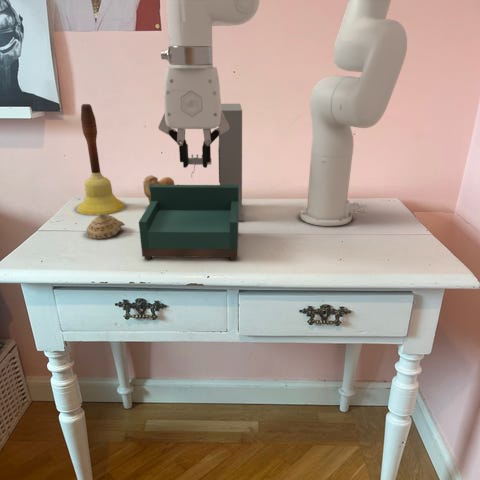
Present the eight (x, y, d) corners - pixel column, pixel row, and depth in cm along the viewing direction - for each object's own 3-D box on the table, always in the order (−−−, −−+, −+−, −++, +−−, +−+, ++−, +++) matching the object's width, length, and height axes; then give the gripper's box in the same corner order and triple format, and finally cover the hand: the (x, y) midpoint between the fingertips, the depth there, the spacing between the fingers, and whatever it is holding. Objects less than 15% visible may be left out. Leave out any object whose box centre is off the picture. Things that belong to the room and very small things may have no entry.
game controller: (208, 163, 99) (208, 150, 98) (221, 176, 89) (221, 162, 88) (181, 164, 98) (180, 151, 96) (191, 178, 88) (190, 163, 87)
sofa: (238, 233, 109) (238, 185, 104) (237, 260, 96) (237, 206, 90) (155, 232, 110) (151, 184, 104) (142, 260, 96) (136, 206, 90)
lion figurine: (159, 214, 122) (156, 178, 117) (140, 212, 123) (137, 176, 118) (182, 198, 134) (180, 165, 129) (165, 196, 135) (162, 164, 130)
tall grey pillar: (217, 205, 128) (215, 103, 116) (240, 205, 129) (240, 103, 116) (217, 221, 116) (214, 110, 104) (242, 221, 117) (242, 110, 104)
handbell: (79, 202, 131) (62, 102, 118) (126, 200, 132) (114, 101, 120) (74, 216, 120) (54, 108, 107) (124, 213, 122) (110, 107, 109)
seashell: (132, 219, 111) (110, 215, 104) (129, 243, 112) (107, 241, 105) (103, 214, 114) (80, 210, 107) (100, 238, 115) (77, 235, 107)
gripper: (140, 58, 80) (150, 170, 90) (237, 59, 80) (237, 170, 90) (148, 57, 87) (156, 161, 96) (238, 58, 87) (238, 162, 96)
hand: (195, 165), depth 93 cm, fingers closed on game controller, 3 cm apart
